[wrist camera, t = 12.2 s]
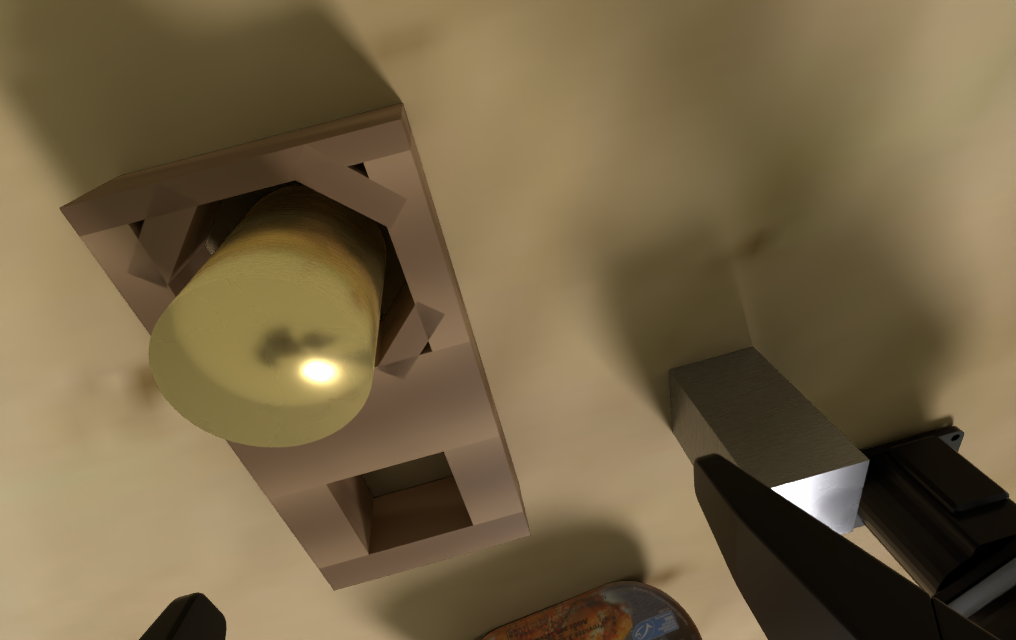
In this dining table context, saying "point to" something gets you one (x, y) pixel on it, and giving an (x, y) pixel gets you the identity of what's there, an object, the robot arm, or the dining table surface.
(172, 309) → the round bit
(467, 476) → the bore block
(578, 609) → the tin
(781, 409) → the square bit
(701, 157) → the dining table surface
